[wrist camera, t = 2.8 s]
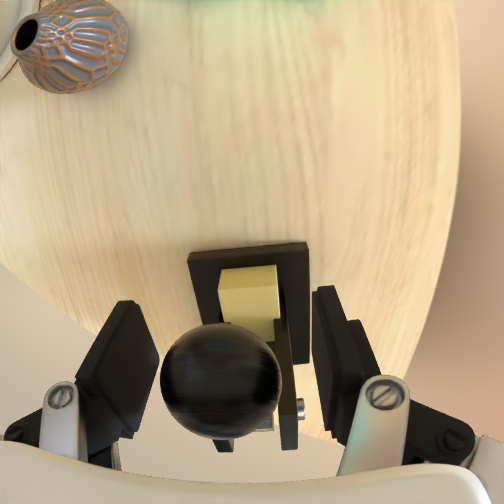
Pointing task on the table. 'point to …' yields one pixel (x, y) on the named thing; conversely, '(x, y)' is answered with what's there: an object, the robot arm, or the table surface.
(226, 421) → the ball knob lever
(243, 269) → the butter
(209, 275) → the black lever base
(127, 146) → the table surface
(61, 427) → the robot arm
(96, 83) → the vase
